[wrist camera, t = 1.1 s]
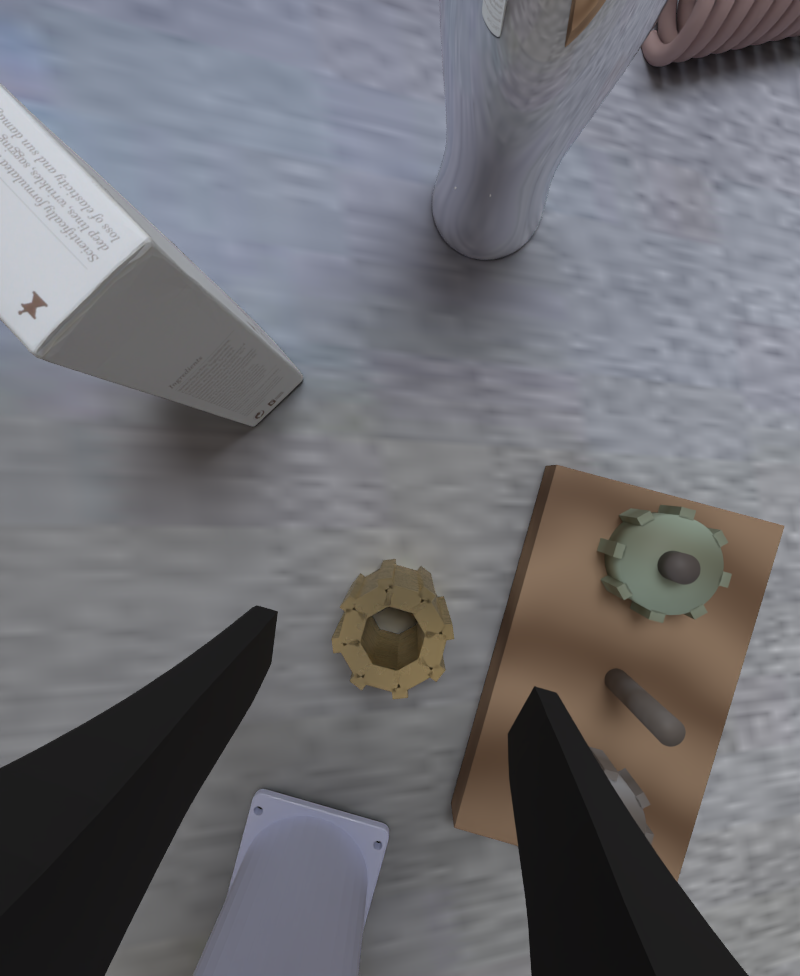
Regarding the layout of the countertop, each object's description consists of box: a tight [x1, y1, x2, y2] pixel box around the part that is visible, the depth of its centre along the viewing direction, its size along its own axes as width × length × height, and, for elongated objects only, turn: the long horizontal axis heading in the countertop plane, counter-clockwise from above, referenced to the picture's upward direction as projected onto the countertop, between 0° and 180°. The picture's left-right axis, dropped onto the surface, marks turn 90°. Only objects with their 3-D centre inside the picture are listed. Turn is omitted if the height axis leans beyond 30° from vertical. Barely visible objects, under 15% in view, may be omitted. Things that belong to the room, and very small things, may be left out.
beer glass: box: [432, 0, 669, 260], centre depth 13 cm, size 7×7×15 cm
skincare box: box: [0, 83, 303, 426], centre depth 15 cm, size 6×4×12 cm
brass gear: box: [332, 559, 454, 699], centre depth 19 cm, size 6×5×4 cm
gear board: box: [451, 465, 784, 881], centre depth 18 cm, size 20×12×6 cm, turn 165°
